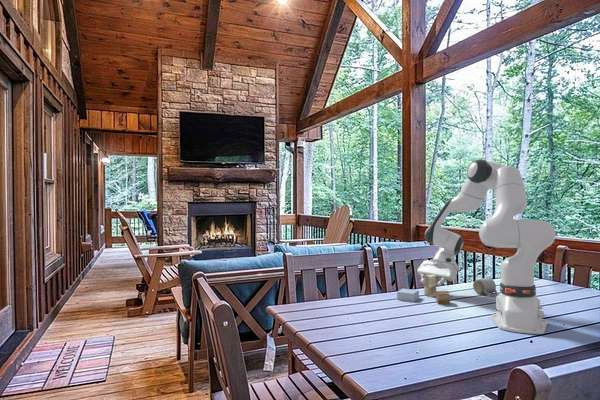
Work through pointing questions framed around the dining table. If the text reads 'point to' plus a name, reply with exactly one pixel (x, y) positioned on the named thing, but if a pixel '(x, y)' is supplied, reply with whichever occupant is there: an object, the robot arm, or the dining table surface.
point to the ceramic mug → (485, 286)
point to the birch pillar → (430, 285)
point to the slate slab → (408, 295)
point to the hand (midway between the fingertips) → (429, 284)
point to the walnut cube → (443, 297)
